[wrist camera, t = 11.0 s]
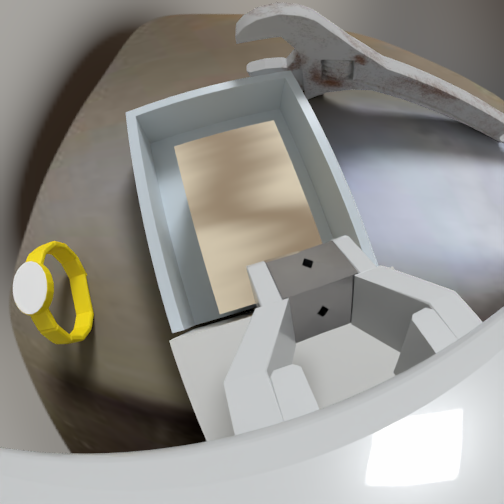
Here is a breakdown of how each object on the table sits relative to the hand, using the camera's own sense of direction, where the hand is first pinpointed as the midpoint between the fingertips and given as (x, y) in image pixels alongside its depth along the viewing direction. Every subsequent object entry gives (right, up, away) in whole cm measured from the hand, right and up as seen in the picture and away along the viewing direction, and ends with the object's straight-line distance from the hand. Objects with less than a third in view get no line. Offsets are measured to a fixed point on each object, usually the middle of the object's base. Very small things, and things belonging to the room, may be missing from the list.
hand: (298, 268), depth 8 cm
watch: (-13, -2, +9) cm, 16 cm away
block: (0, -2, +6) cm, 6 cm away
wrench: (+12, +13, +13) cm, 22 cm away
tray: (-2, +4, +10) cm, 11 cm away
